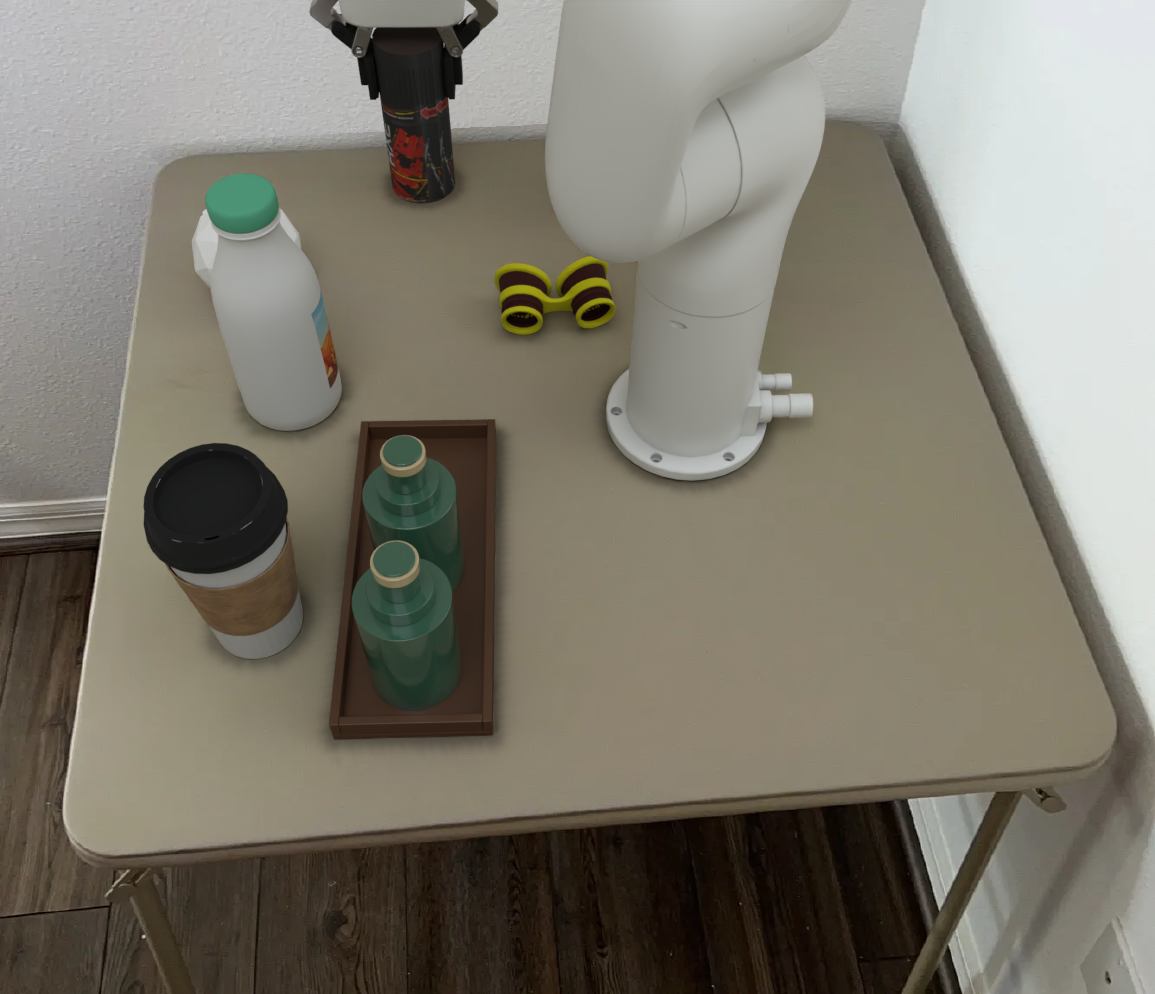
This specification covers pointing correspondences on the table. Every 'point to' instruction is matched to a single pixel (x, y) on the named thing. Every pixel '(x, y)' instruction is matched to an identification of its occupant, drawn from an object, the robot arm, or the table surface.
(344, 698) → the tray
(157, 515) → the coffee cup
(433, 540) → the bottle middle
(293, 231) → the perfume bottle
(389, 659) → the bottle front
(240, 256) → the milk bottle
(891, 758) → the table surface
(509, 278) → the opera glasses
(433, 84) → the deodorant
